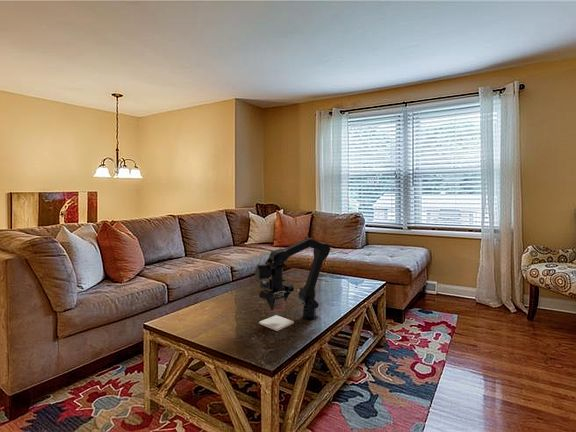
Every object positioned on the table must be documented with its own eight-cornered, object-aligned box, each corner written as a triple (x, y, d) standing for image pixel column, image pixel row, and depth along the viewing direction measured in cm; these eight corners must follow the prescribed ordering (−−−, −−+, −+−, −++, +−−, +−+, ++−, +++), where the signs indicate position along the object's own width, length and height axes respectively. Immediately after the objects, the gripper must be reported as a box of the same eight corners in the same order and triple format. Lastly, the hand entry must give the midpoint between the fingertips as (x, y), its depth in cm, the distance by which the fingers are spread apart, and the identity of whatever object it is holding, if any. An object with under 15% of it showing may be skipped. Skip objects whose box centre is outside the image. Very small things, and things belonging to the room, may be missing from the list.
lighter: (269, 315, 165) (269, 295, 164) (268, 312, 169) (268, 292, 168) (285, 313, 168) (285, 293, 167) (284, 311, 171) (284, 291, 170)
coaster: (276, 316, 177) (276, 315, 177) (293, 323, 169) (293, 321, 169) (259, 323, 168) (259, 321, 168) (276, 331, 160) (276, 328, 160)
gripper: (278, 270, 179) (278, 299, 180) (251, 277, 165) (251, 309, 166) (294, 274, 171) (294, 304, 173) (267, 282, 157) (267, 315, 159)
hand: (276, 308), depth 168 cm, fingers closed on lighter, 7 cm apart
